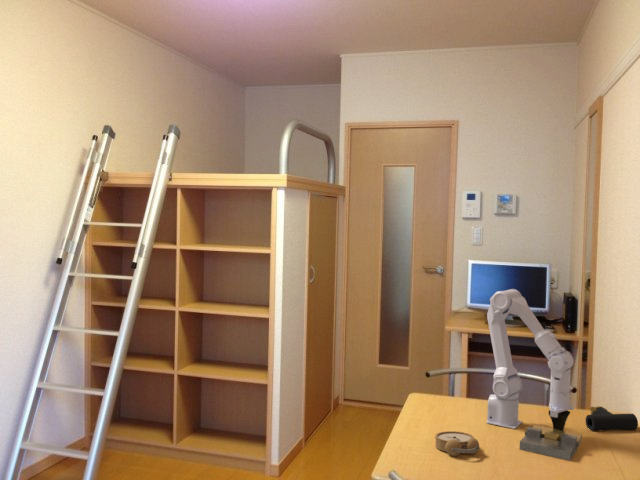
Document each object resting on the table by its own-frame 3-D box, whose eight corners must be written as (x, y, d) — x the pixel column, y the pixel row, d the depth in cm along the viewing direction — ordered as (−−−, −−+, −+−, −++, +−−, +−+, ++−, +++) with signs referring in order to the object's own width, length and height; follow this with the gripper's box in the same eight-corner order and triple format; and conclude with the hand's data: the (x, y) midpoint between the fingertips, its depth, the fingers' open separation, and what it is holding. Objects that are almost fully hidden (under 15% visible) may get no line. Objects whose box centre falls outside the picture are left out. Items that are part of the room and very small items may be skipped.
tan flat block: (526, 441, 186) (526, 428, 186) (534, 433, 194) (534, 420, 194) (575, 452, 179) (575, 438, 178) (581, 443, 186) (582, 429, 186)
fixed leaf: (517, 448, 181) (517, 434, 181) (526, 439, 188) (526, 426, 188) (572, 461, 172) (572, 446, 172) (578, 451, 180) (579, 437, 179)
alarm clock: (463, 430, 188) (487, 438, 174) (463, 446, 188) (488, 456, 173) (428, 432, 186) (450, 441, 171) (429, 449, 185) (451, 459, 170)
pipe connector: (575, 405, 207) (616, 404, 209) (574, 420, 207) (616, 419, 209) (594, 417, 195) (638, 416, 197) (593, 433, 196) (637, 432, 198)
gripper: (568, 398, 182) (566, 444, 182) (578, 387, 194) (577, 430, 194) (543, 394, 186) (542, 438, 186) (555, 383, 198) (553, 425, 198)
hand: (558, 434), depth 191 cm, fingers closed
